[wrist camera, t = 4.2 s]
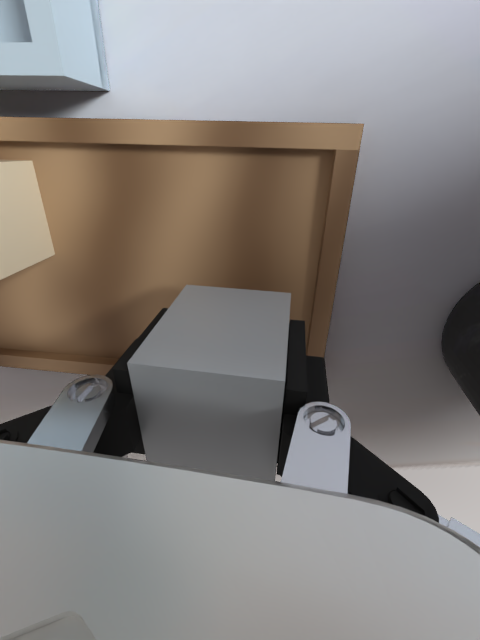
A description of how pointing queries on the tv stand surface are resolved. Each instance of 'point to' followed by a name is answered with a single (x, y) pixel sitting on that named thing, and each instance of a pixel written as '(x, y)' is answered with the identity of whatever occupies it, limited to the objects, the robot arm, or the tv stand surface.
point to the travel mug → (465, 345)
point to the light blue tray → (52, 46)
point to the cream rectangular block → (21, 218)
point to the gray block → (214, 381)
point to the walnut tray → (171, 227)
